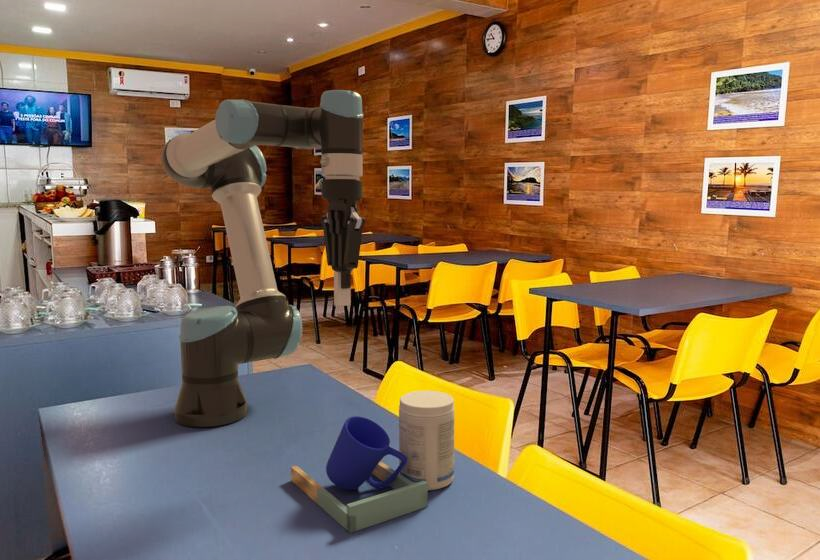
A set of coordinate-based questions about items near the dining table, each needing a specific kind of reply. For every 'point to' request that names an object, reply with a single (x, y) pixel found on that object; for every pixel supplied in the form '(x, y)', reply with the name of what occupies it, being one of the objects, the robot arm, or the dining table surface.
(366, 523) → the pocket
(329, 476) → the mug
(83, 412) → the dining table surface
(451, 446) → the supplement tub
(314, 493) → the flange rails
